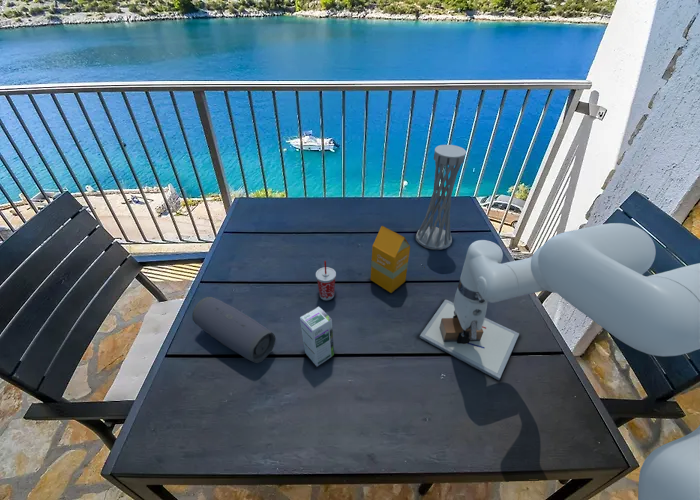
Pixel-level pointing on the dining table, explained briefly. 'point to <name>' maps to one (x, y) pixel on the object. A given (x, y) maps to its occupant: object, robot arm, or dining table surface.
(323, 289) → the beverage cup
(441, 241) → the grey lattice tower
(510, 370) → the dining table surface
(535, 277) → the robot arm
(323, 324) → the syrup box
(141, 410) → the dining table surface
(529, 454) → the dining table surface
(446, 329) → the eraser
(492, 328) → the board
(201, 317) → the bluetooth speaker
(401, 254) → the orange juice
